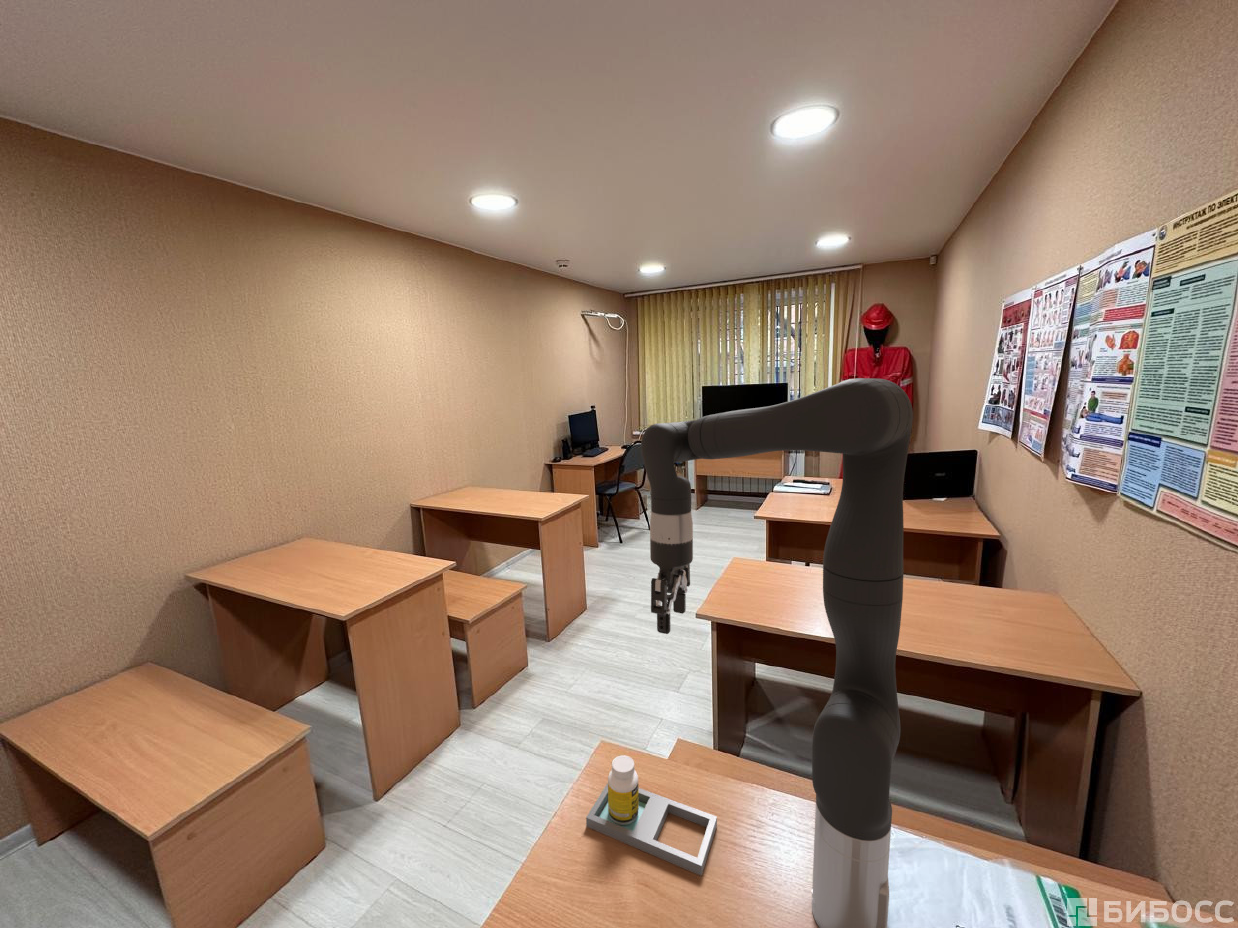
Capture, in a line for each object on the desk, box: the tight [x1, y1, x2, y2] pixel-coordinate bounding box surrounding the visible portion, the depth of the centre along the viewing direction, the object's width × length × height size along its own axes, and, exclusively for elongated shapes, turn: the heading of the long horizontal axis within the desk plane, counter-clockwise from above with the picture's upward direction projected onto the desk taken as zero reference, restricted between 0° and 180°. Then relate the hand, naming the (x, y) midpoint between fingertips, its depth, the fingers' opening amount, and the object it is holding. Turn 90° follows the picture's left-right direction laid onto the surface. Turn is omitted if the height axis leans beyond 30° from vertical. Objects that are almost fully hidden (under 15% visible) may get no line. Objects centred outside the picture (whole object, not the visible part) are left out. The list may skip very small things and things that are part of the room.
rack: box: [585, 782, 718, 877], centre depth 82 cm, size 20×10×2 cm, turn 64°
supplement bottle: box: [607, 754, 639, 825], centre depth 83 cm, size 5×5×10 cm
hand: (672, 621), depth 86 cm, fingers open, 8 cm apart
